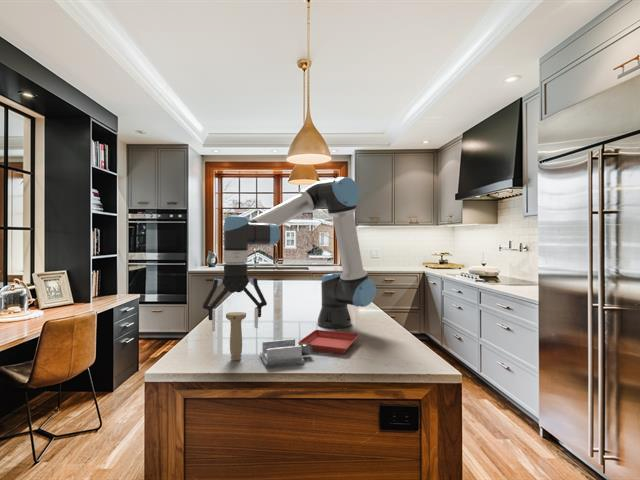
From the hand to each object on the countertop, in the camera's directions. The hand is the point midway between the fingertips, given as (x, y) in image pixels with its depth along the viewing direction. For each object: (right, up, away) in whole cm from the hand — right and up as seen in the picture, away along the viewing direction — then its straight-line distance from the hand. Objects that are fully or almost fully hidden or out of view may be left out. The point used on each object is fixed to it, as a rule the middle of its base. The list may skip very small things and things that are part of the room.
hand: (235, 328), depth 120 cm
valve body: (+17, -10, +1) cm, 20 cm away
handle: (0, -10, 0) cm, 10 cm away
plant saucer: (+31, -10, +15) cm, 36 cm away
